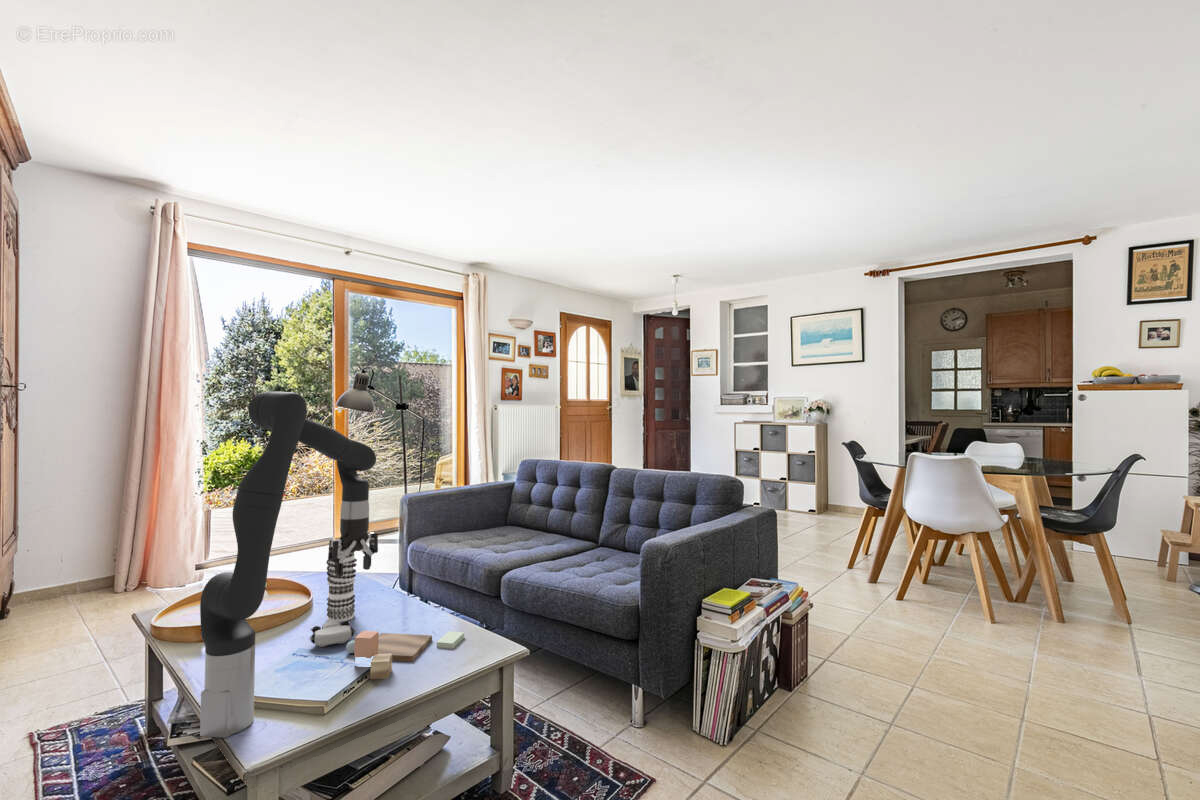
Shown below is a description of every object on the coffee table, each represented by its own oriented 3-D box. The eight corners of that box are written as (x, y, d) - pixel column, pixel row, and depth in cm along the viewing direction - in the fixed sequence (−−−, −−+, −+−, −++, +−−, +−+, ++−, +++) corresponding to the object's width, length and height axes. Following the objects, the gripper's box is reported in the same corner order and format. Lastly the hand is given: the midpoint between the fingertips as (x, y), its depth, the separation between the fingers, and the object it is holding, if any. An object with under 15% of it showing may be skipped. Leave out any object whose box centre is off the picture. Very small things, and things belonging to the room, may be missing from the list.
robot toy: (308, 638, 171) (309, 653, 158) (308, 623, 171) (310, 637, 158) (351, 630, 177) (356, 645, 164) (351, 616, 177) (356, 629, 164)
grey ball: (355, 656, 156) (355, 643, 157) (343, 655, 157) (343, 643, 157) (362, 650, 160) (362, 638, 160) (350, 650, 160) (350, 637, 160)
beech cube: (388, 678, 144) (388, 661, 145) (370, 679, 144) (370, 662, 144) (391, 670, 149) (392, 653, 149) (374, 671, 148) (374, 654, 148)
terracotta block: (370, 667, 150) (370, 638, 150) (354, 667, 150) (354, 637, 150) (378, 660, 154) (378, 631, 154) (362, 659, 155) (363, 630, 155)
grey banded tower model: (345, 623, 180) (346, 546, 180) (319, 621, 181) (320, 545, 181) (361, 613, 189) (362, 539, 189) (336, 611, 190) (338, 538, 190)
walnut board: (412, 661, 154) (412, 656, 154) (357, 658, 155) (357, 653, 155) (431, 640, 168) (432, 635, 168) (381, 637, 169) (381, 632, 169)
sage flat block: (452, 650, 162) (452, 643, 162) (436, 648, 163) (436, 642, 163) (464, 639, 170) (464, 632, 170) (448, 637, 171) (449, 631, 171)
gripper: (339, 521, 151) (338, 581, 151) (384, 513, 163) (383, 569, 163) (323, 518, 155) (321, 576, 155) (368, 510, 167) (367, 564, 167)
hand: (353, 572), depth 159 cm, fingers open, 8 cm apart
